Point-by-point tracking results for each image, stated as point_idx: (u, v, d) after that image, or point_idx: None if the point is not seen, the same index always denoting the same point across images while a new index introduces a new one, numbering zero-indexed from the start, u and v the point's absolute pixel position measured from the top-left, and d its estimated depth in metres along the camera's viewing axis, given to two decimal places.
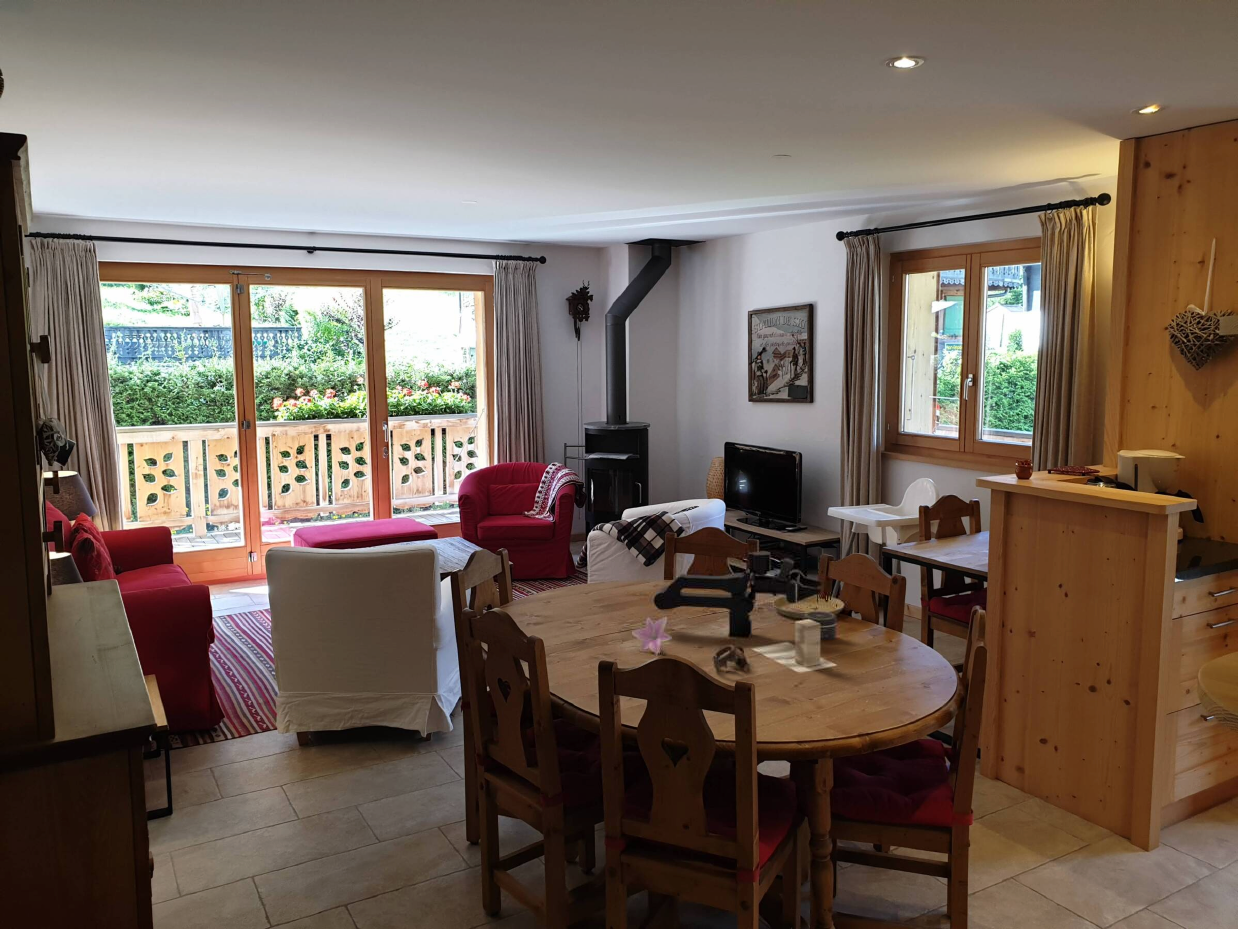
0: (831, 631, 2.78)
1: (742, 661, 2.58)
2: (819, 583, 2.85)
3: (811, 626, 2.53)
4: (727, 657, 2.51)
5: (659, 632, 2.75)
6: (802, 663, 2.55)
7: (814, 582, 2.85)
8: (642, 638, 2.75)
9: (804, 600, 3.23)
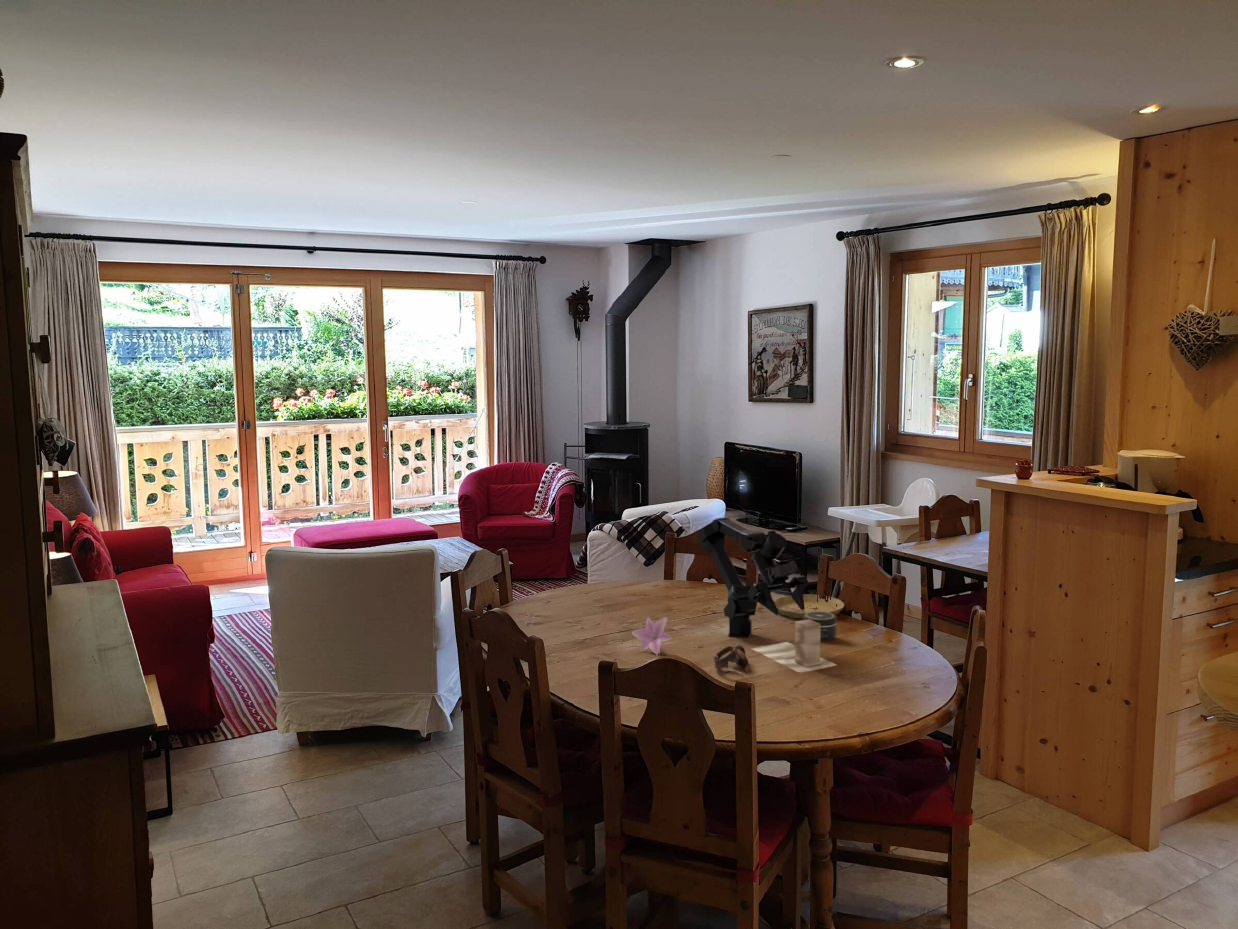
0: (831, 631, 2.78)
1: (743, 661, 2.57)
2: (801, 607, 2.66)
3: (811, 626, 2.53)
4: (728, 657, 2.51)
5: (659, 632, 2.75)
6: (802, 663, 2.55)
7: (800, 602, 2.67)
8: (642, 638, 2.75)
9: (804, 600, 3.23)
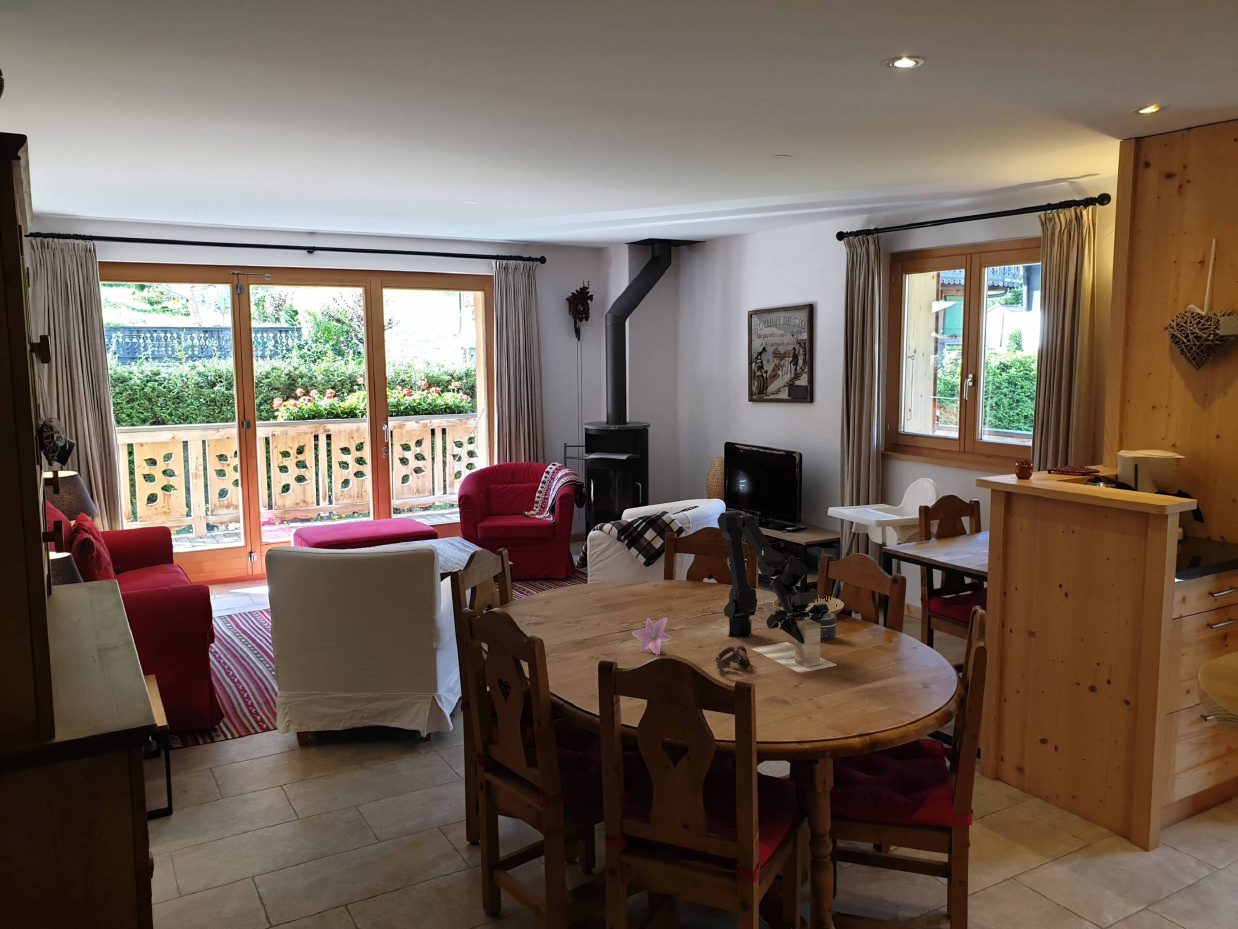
0: (831, 631, 2.78)
1: (745, 662, 2.57)
2: None
3: (811, 626, 2.53)
4: (730, 658, 2.51)
5: (659, 632, 2.74)
6: (802, 663, 2.55)
7: None
8: (642, 638, 2.75)
9: None
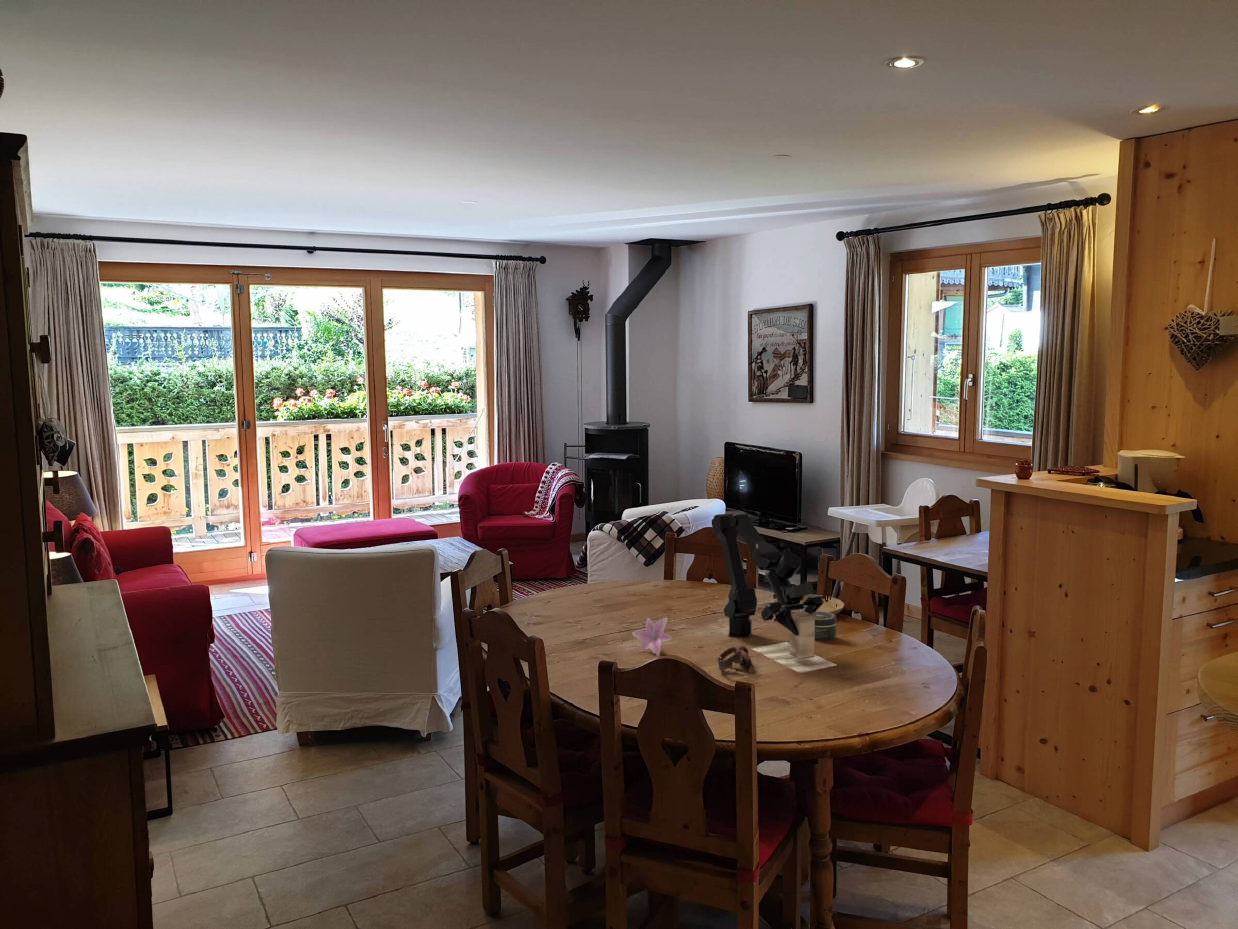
0: (831, 631, 2.78)
1: (747, 662, 2.56)
2: None
3: (805, 618, 2.55)
4: (732, 658, 2.50)
5: (659, 632, 2.74)
6: (796, 655, 2.58)
7: None
8: (642, 639, 2.75)
9: (804, 600, 3.23)
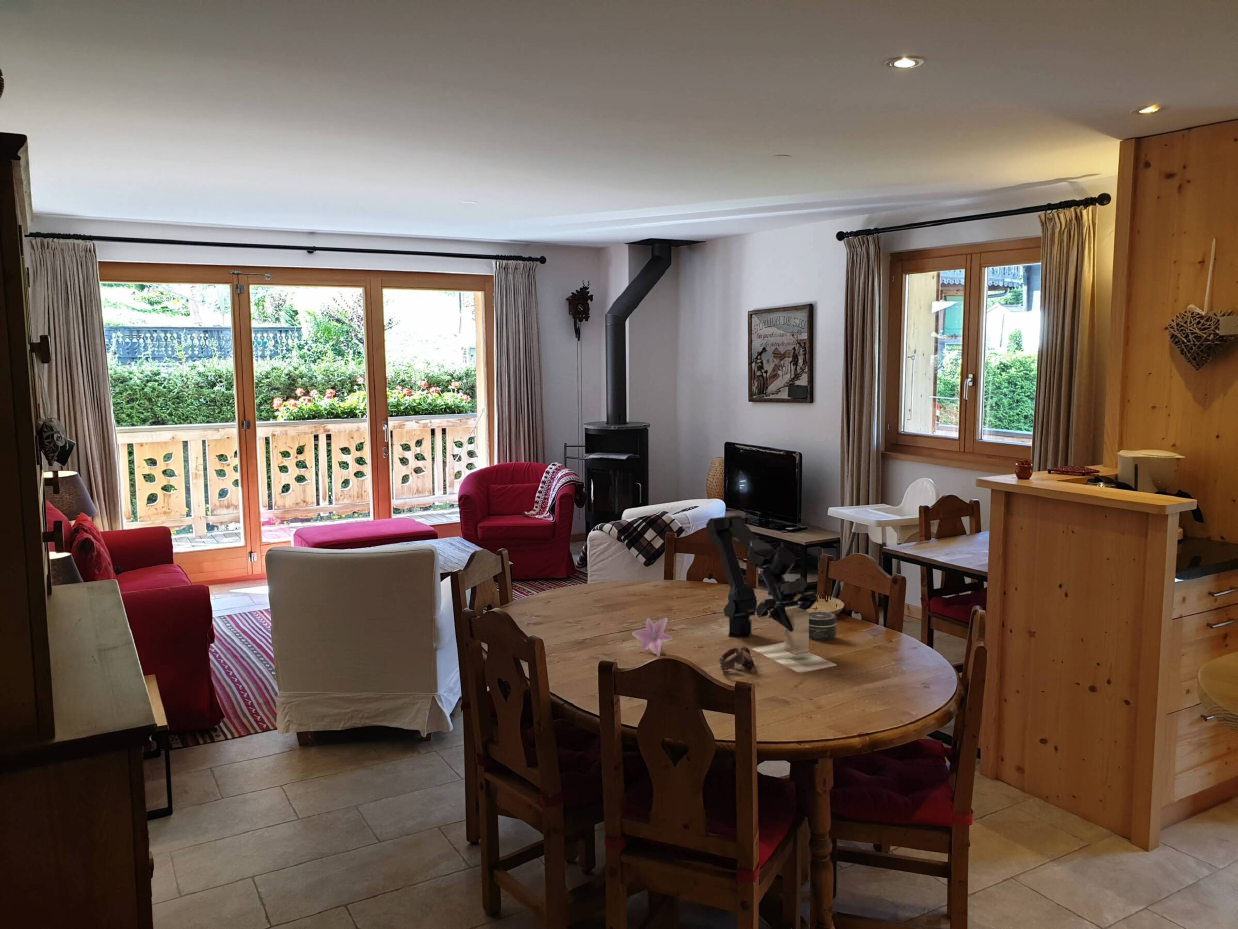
0: (831, 631, 2.78)
1: (749, 663, 2.56)
2: None
3: (800, 614, 2.58)
4: (734, 659, 2.50)
5: (659, 632, 2.74)
6: (791, 650, 2.60)
7: None
8: (642, 639, 2.75)
9: None
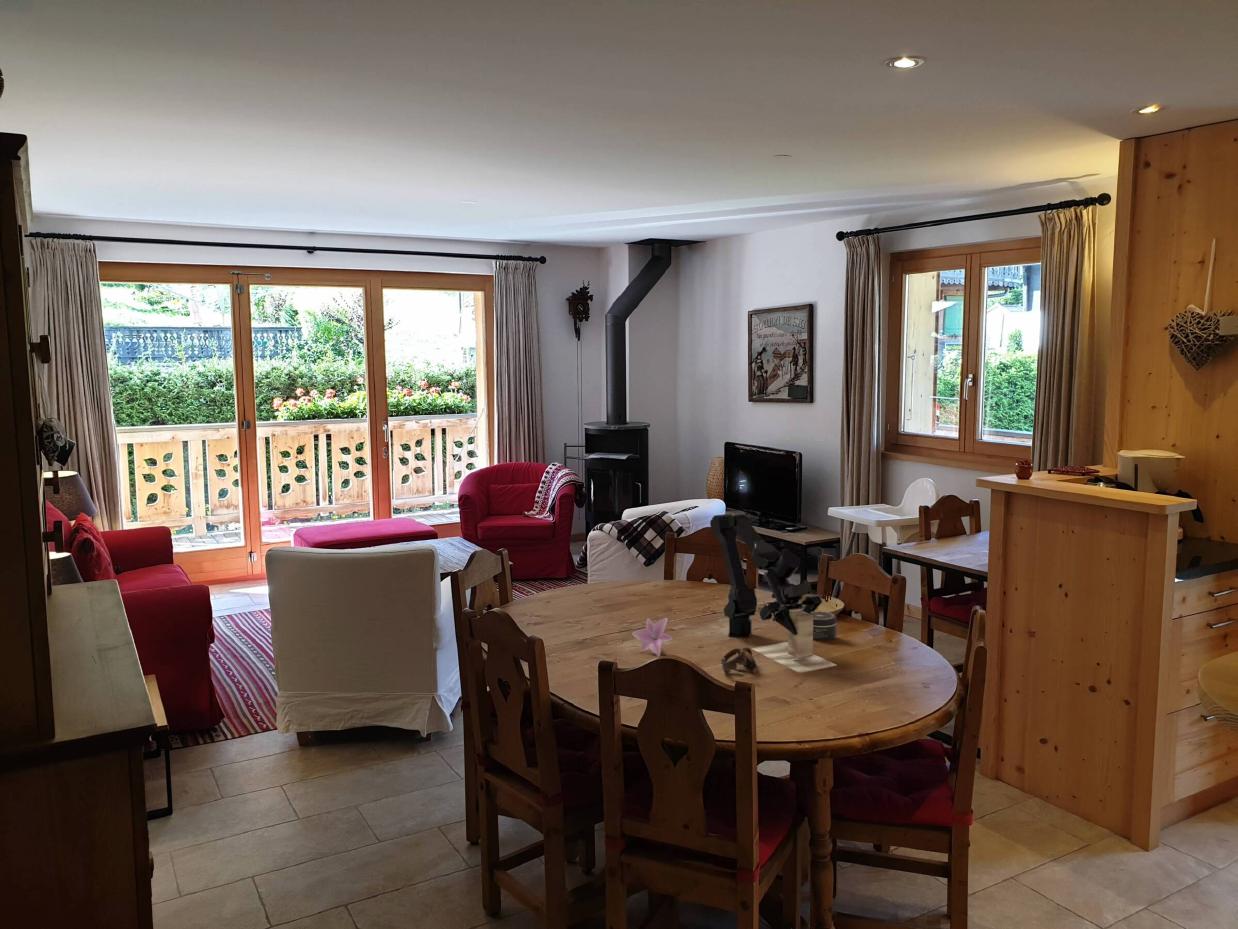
0: (831, 631, 2.78)
1: (750, 663, 2.55)
2: None
3: (804, 617, 2.56)
4: (736, 660, 2.49)
5: (659, 633, 2.74)
6: (795, 654, 2.58)
7: None
8: (642, 639, 2.74)
9: None
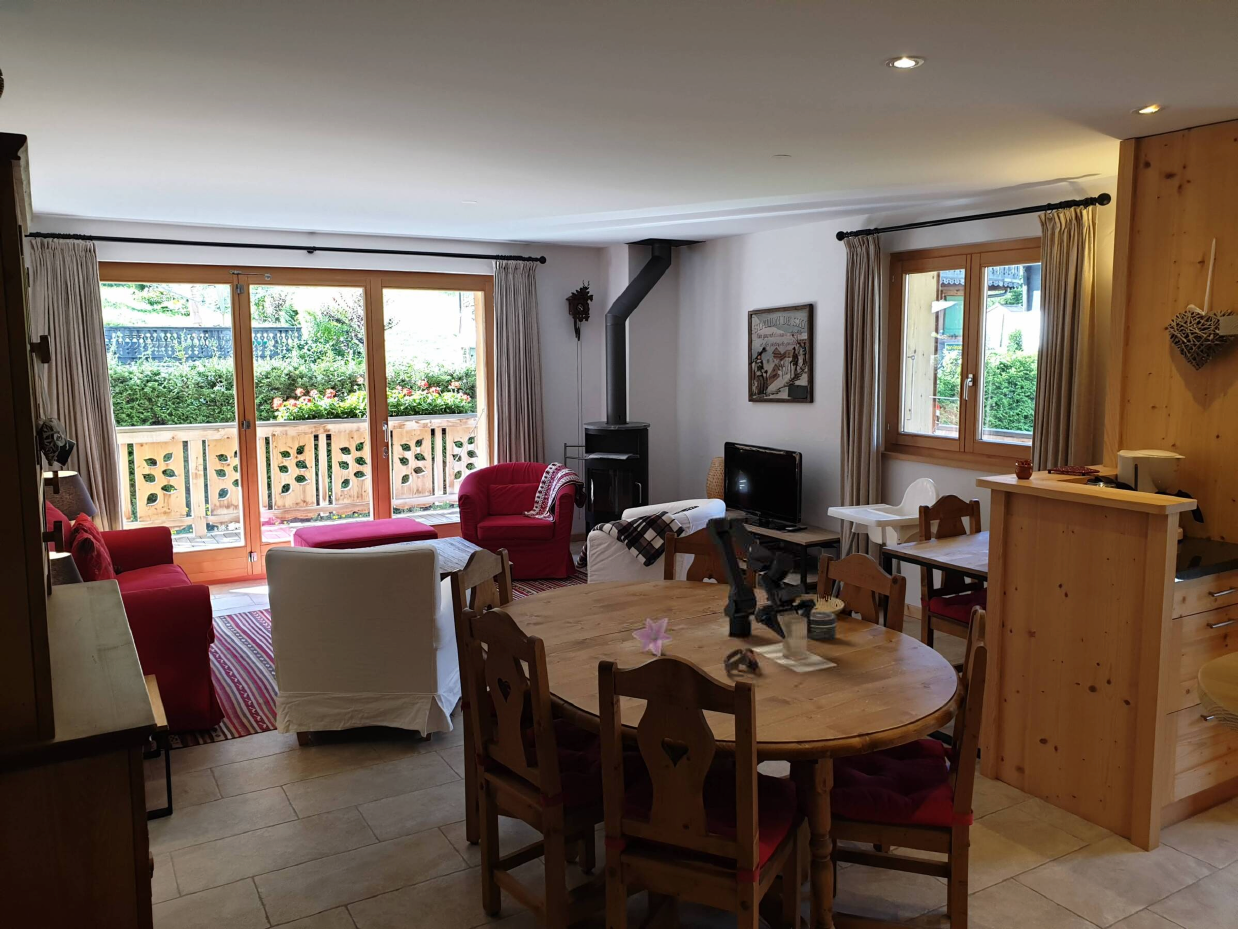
0: (831, 631, 2.78)
1: (753, 664, 2.55)
2: (808, 631, 2.63)
3: (798, 620, 2.59)
4: (739, 660, 2.48)
5: (659, 633, 2.74)
6: (789, 657, 2.61)
7: (807, 626, 2.64)
8: (642, 639, 2.74)
9: None
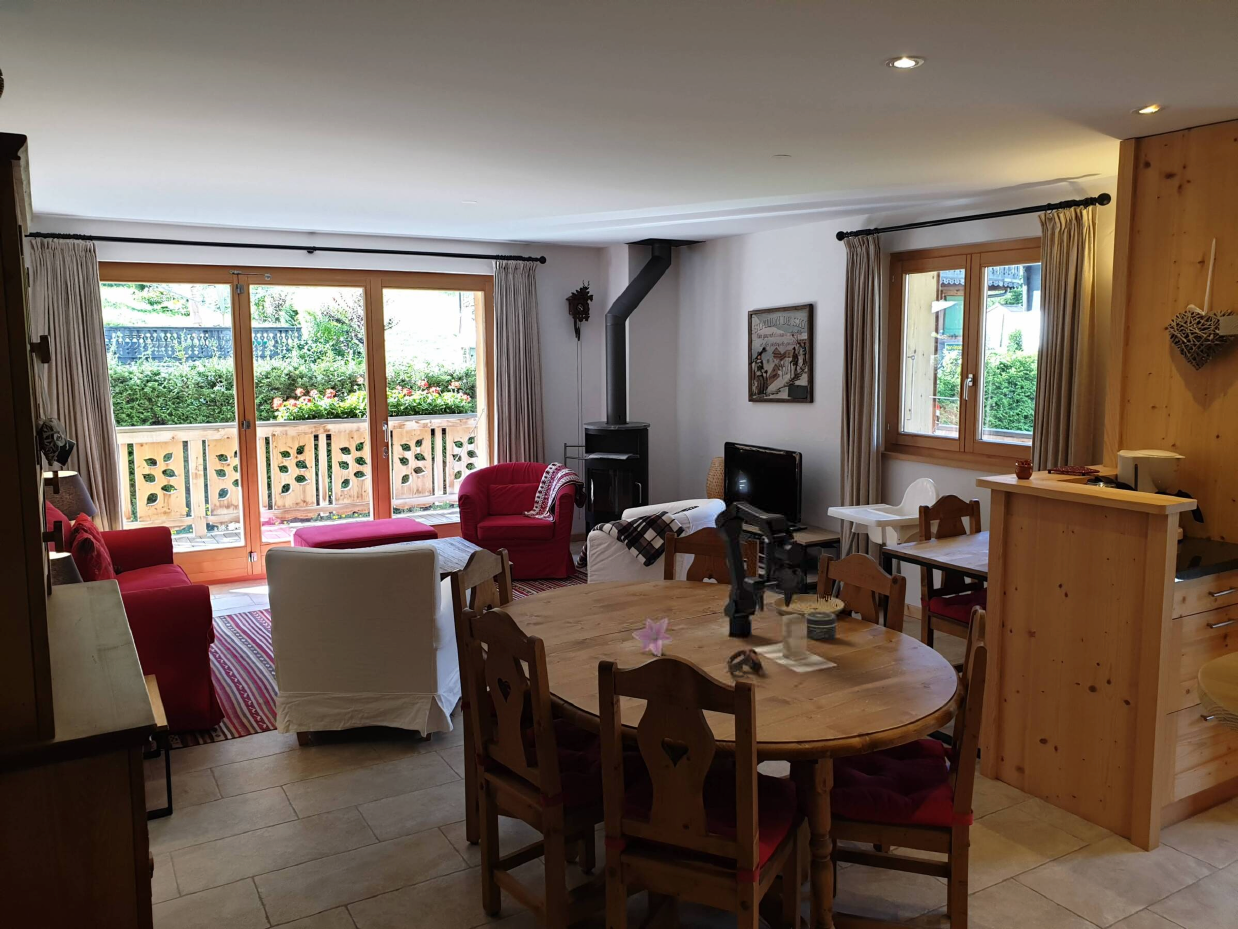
0: (831, 631, 2.78)
1: (756, 665, 2.54)
2: (786, 604, 2.72)
3: (798, 620, 2.59)
4: (743, 661, 2.48)
5: (659, 633, 2.73)
6: (789, 657, 2.61)
7: (787, 599, 2.72)
8: (643, 640, 2.74)
9: (804, 600, 3.23)
